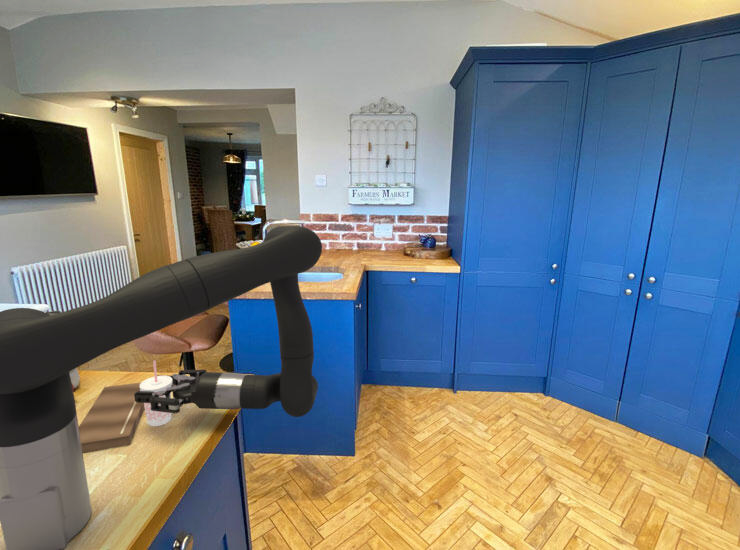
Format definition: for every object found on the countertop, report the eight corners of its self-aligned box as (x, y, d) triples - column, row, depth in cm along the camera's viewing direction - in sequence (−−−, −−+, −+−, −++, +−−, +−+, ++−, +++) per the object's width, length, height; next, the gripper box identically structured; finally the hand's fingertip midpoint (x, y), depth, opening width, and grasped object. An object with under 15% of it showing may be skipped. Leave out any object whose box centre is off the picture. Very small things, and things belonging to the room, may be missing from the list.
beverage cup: (177, 409, 82) (173, 353, 79) (172, 426, 77) (167, 365, 74) (147, 413, 81) (141, 356, 78) (139, 430, 75) (133, 368, 72)
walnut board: (169, 437, 73) (169, 428, 73) (67, 455, 67) (66, 445, 67) (184, 381, 95) (183, 374, 94) (107, 391, 89) (106, 383, 88)
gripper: (234, 359, 84) (162, 357, 83) (208, 392, 70) (121, 390, 69) (236, 388, 85) (164, 386, 85) (210, 427, 71) (125, 424, 71)
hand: (145, 388), depth 77 cm, fingers closed on beverage cup, 6 cm apart
